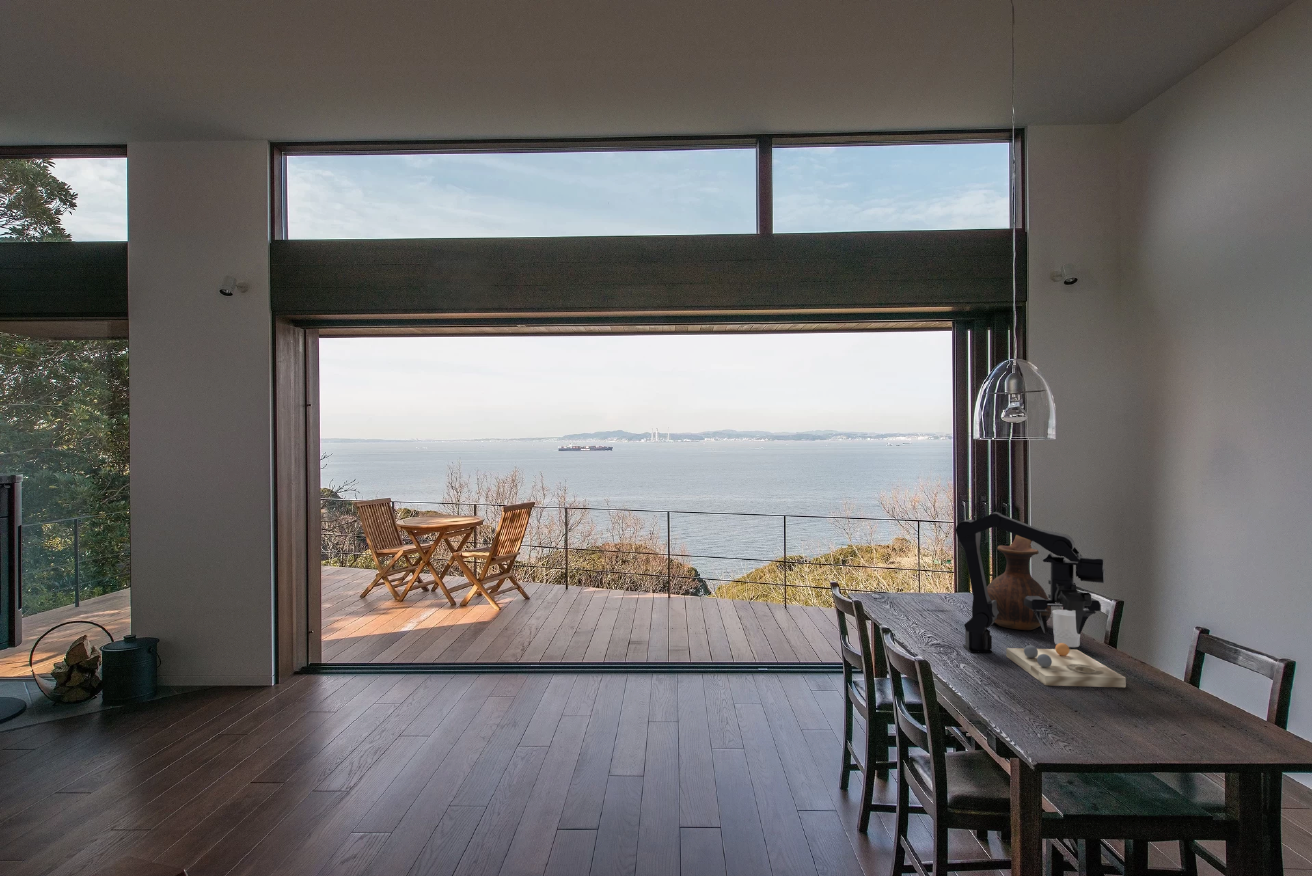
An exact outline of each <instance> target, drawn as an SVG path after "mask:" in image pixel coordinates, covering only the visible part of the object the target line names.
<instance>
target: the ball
mask: <svg viewBox="0 0 1312 876" xmlns="http://www.w3.org/2000/svg"><path fill="white" fill-rule="evenodd" d="M1054 649H1055V650H1056V652H1057V653H1058V654H1059V655H1062V656H1065V655H1067V654H1068V653H1069V649H1070V647H1068V646H1067V645H1066V644H1064V643H1059V644H1055V648H1054Z"/></svg>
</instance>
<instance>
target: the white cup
mask: <svg viewBox="0 0 1312 876" xmlns="http://www.w3.org/2000/svg"><path fill="white" fill-rule="evenodd" d="M1051 616H1052V629H1053V630H1052V631H1053V640H1054V644H1055V645H1057V644H1059V643H1064V644H1066V645H1067V646H1068V647H1069V648H1078V647H1080V643H1081V641H1080V638H1081V634H1078V633H1077V630H1076V613H1075V610H1072V611H1068V610H1066V609H1053V610H1051Z"/></svg>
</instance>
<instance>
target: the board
mask: <svg viewBox="0 0 1312 876" xmlns="http://www.w3.org/2000/svg"><path fill="white" fill-rule="evenodd" d="M1024 648H1025V647H1024ZM1024 648H1019V647H1018V648H1015V647H1014V648H1013V647H1012V648H1011V647H1010V648H1009V647H1007V648H1006V649H1005V650H1006V651H1005V652H1006V653H1005V654H1006V655H1005V656H1006V658H1008V660H1010V661H1012V662H1013V663H1015V664H1016V665H1017V666H1019V667H1020V668H1021V669H1023V670H1024V671H1025V672H1026V673H1028V674H1029V675H1030V676H1032V677H1033V678H1035V679H1036V680H1037V681H1039V682H1040V683H1041V684H1042V685H1044V686H1050V687H1051V686H1055V687H1056V686H1058V687H1059V686H1060V687H1094V688H1097V687H1099V688H1100V687H1101V688H1126V687H1127V686H1126V685H1127V684H1126V677H1125V675H1124V676H1123V675H1122V674H1120V673H1119V672H1116V671H1115V670H1113V669H1111V668H1109V667H1108V666H1107V665H1105V664H1103V663H1100V662H1099V661H1097V660H1096V659H1095V658H1092V657H1091V656H1089V655H1087V654H1085V653H1083V652H1082V651H1080V650H1078V649H1071V648H1069V653H1068V654H1067V655H1065V656H1062V655H1059V654H1058V653H1057V652H1056V650H1055V648H1036V649H1037V650H1038V655H1037V656H1036V657H1035V658H1029V657H1027V656H1026V655H1025V654H1024ZM1041 654H1046V655H1048V656H1049V657H1050V658H1051V660H1052V664H1051V666H1049V667H1047V668H1044V667H1041V666H1040V665H1039V664H1038V662H1037V658H1038V656H1039V655H1041Z"/></svg>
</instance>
